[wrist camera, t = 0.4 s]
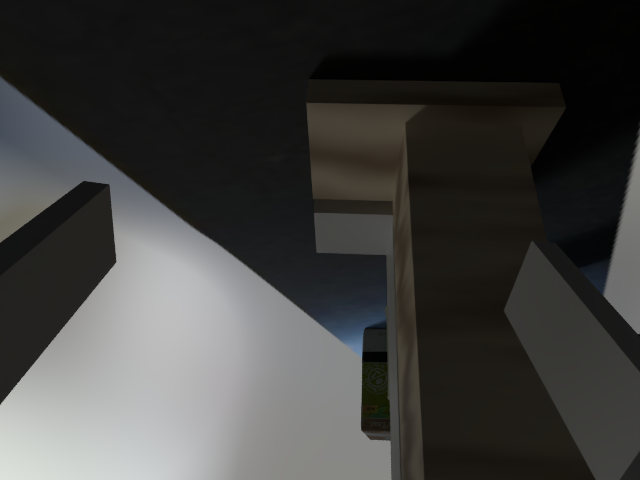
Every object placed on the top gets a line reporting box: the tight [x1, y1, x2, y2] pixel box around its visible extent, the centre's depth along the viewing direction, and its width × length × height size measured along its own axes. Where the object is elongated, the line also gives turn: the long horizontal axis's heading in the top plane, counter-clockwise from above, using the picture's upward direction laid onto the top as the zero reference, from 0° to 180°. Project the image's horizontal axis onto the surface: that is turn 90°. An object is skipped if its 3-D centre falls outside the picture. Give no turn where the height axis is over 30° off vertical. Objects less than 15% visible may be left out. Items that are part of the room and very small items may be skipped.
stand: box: [314, 199, 402, 480], centre depth 34 cm, size 7×14×30 cm, turn 91°
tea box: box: [361, 328, 391, 441], centre depth 67 cm, size 15×10×15 cm
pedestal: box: [307, 79, 596, 480], centre depth 25 cm, size 10×15×30 cm, turn 92°
